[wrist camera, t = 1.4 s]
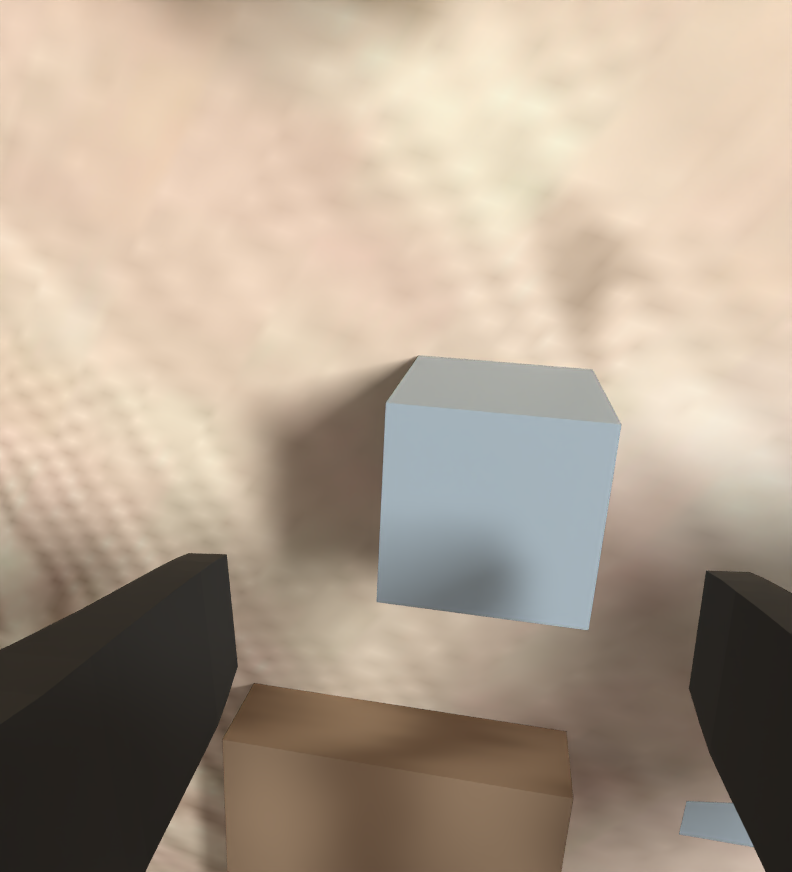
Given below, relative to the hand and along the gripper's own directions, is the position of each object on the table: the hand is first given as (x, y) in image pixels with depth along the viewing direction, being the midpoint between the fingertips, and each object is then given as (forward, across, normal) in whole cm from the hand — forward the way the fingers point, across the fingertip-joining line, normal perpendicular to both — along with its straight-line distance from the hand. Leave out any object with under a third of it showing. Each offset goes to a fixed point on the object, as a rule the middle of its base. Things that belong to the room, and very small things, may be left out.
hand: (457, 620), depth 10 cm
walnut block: (+9, +2, +14) cm, 17 cm away
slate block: (+9, -1, 0) cm, 9 cm away
